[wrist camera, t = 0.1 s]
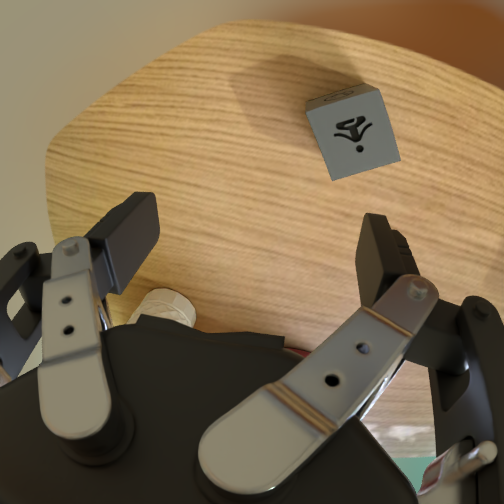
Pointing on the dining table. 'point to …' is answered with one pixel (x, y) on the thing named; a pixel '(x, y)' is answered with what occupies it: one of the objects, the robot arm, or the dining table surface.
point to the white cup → (166, 307)
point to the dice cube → (352, 130)
